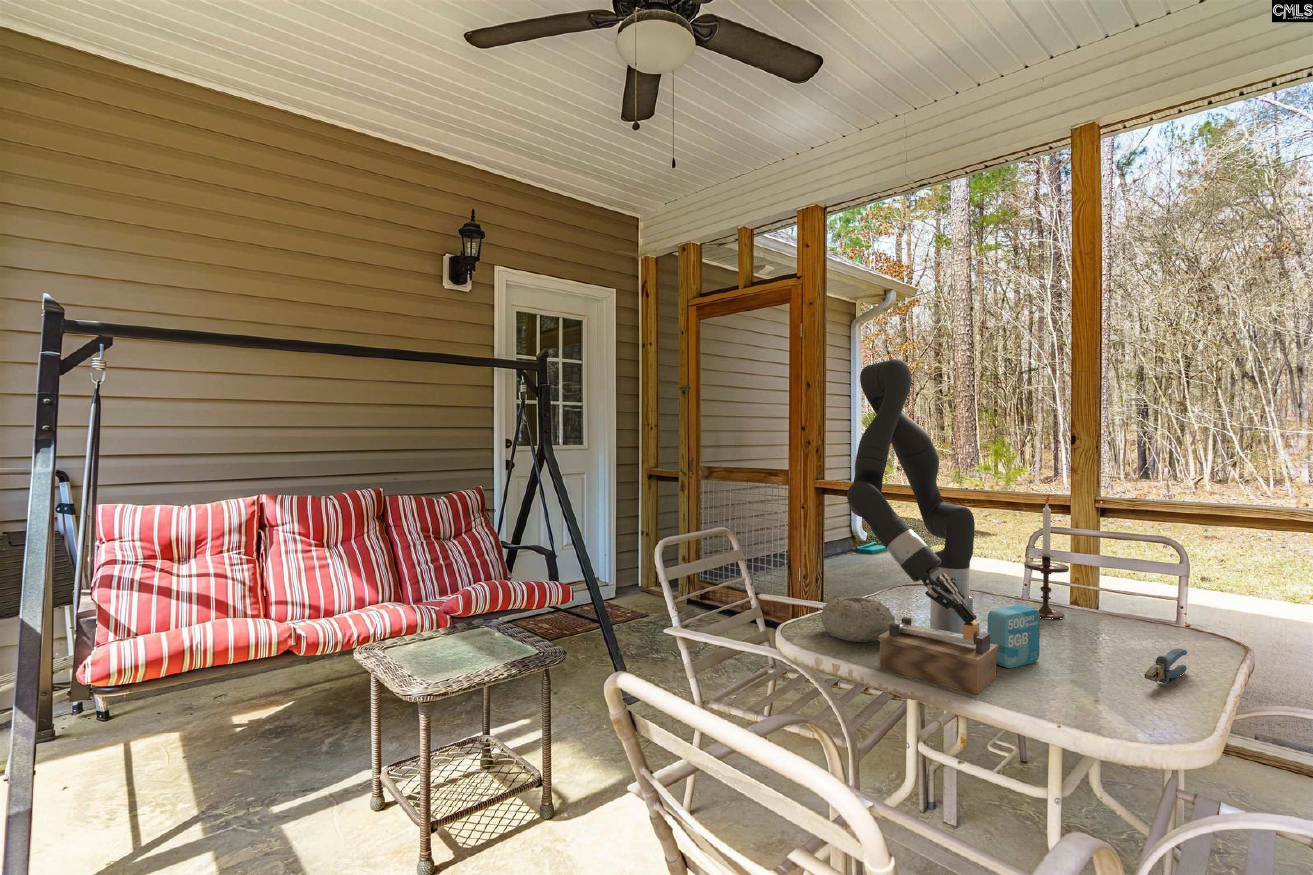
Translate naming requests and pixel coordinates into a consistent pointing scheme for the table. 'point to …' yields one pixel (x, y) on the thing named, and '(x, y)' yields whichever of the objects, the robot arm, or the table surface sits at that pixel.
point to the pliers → (1166, 667)
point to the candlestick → (1047, 567)
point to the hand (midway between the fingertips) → (972, 621)
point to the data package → (1015, 635)
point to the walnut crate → (939, 659)
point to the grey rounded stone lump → (856, 618)
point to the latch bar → (945, 633)
